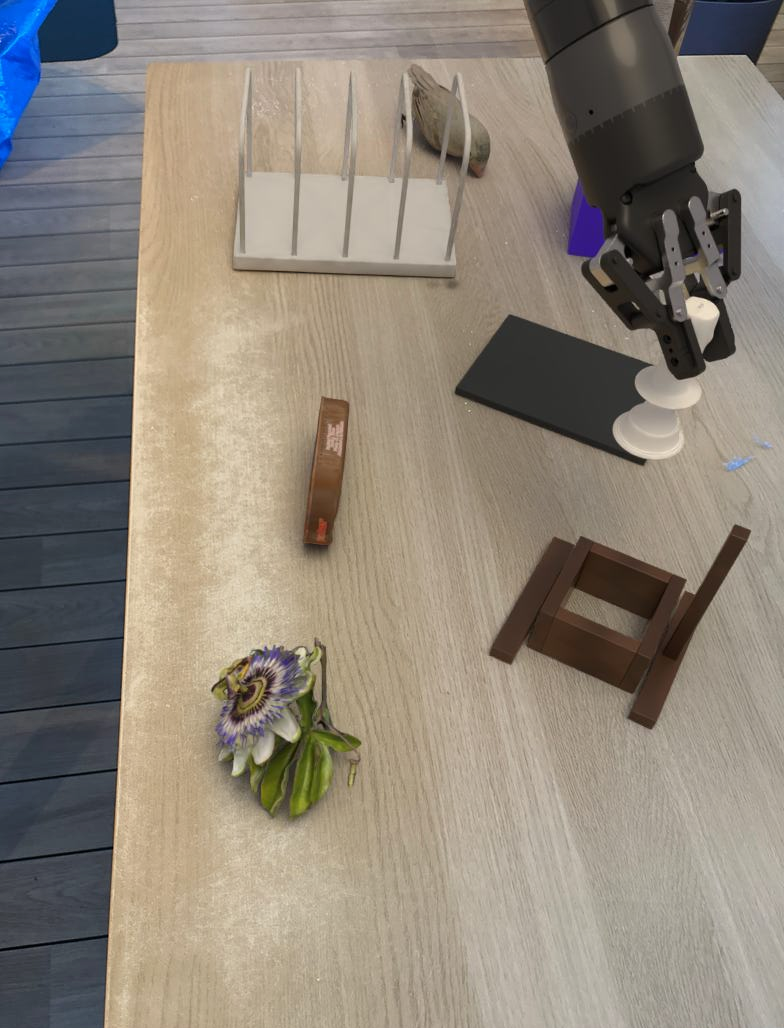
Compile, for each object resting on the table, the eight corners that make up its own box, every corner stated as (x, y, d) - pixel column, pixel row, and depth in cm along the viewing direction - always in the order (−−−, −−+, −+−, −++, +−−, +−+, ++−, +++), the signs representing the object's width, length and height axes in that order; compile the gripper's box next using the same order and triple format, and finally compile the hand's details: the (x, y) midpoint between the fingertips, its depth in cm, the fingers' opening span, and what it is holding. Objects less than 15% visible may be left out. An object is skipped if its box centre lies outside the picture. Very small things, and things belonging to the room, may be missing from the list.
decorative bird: (464, 185, 123) (474, 124, 117) (388, 127, 131) (394, 68, 125) (498, 173, 125) (509, 112, 119) (421, 117, 133) (428, 58, 126)
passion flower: (240, 767, 81) (217, 630, 77) (372, 758, 80) (356, 617, 76) (215, 840, 71) (187, 685, 67) (366, 831, 69) (347, 672, 65)
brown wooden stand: (702, 608, 85) (780, 475, 72) (651, 729, 78) (727, 606, 65) (551, 544, 89) (598, 407, 76) (488, 654, 82) (529, 524, 69)
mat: (686, 383, 102) (689, 377, 102) (643, 466, 95) (646, 460, 95) (508, 319, 108) (509, 313, 107) (454, 393, 101) (455, 387, 100)
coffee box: (645, 136, 131) (687, 2, 118) (599, 124, 133) (634, -10, 119) (663, 105, 136) (704, -26, 123) (617, 94, 137) (653, -37, 124)
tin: (314, 444, 96) (317, 374, 89) (347, 447, 96) (352, 377, 89) (299, 563, 87) (302, 496, 80) (335, 566, 87) (340, 500, 80)
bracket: (567, 254, 115) (594, 154, 106) (571, 202, 121) (597, 105, 112) (725, 275, 113) (767, 177, 104) (721, 223, 120) (760, 125, 110)
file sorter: (233, 271, 112) (227, 133, 99) (241, 187, 122) (237, 52, 109) (455, 278, 112) (478, 142, 99) (444, 193, 122) (464, 59, 109)
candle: (671, 470, 73) (733, 335, 63) (602, 444, 74) (652, 308, 64) (692, 427, 76) (754, 291, 66) (625, 403, 77) (676, 266, 67)
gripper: (589, 118, 57) (683, 399, 62) (741, 52, 62) (818, 316, 67) (506, 166, 64) (597, 417, 68) (650, 103, 69) (726, 340, 73)
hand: (706, 365), depth 67 cm, fingers closed on candle, 2 cm apart
